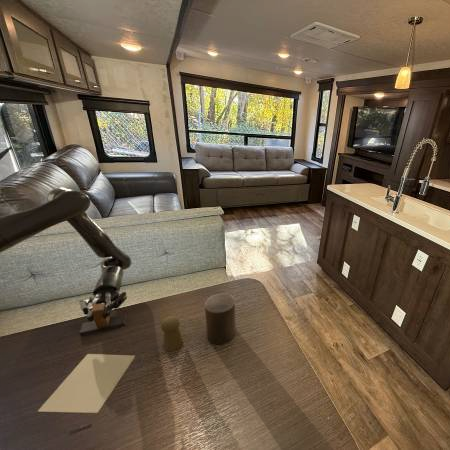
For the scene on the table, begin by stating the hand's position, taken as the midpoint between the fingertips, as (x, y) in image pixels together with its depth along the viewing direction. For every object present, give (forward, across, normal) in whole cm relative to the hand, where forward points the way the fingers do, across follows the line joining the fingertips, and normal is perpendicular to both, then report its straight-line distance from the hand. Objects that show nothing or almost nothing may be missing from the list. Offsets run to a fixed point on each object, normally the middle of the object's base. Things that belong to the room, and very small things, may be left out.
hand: (97, 317), depth 78 cm
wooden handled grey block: (-4, 0, +8) cm, 9 cm away
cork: (+12, +21, +8) cm, 25 cm away
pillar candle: (+12, +36, +8) cm, 39 cm away
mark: (+30, +1, +8) cm, 30 cm away
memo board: (+17, +1, +8) cm, 19 cm away
